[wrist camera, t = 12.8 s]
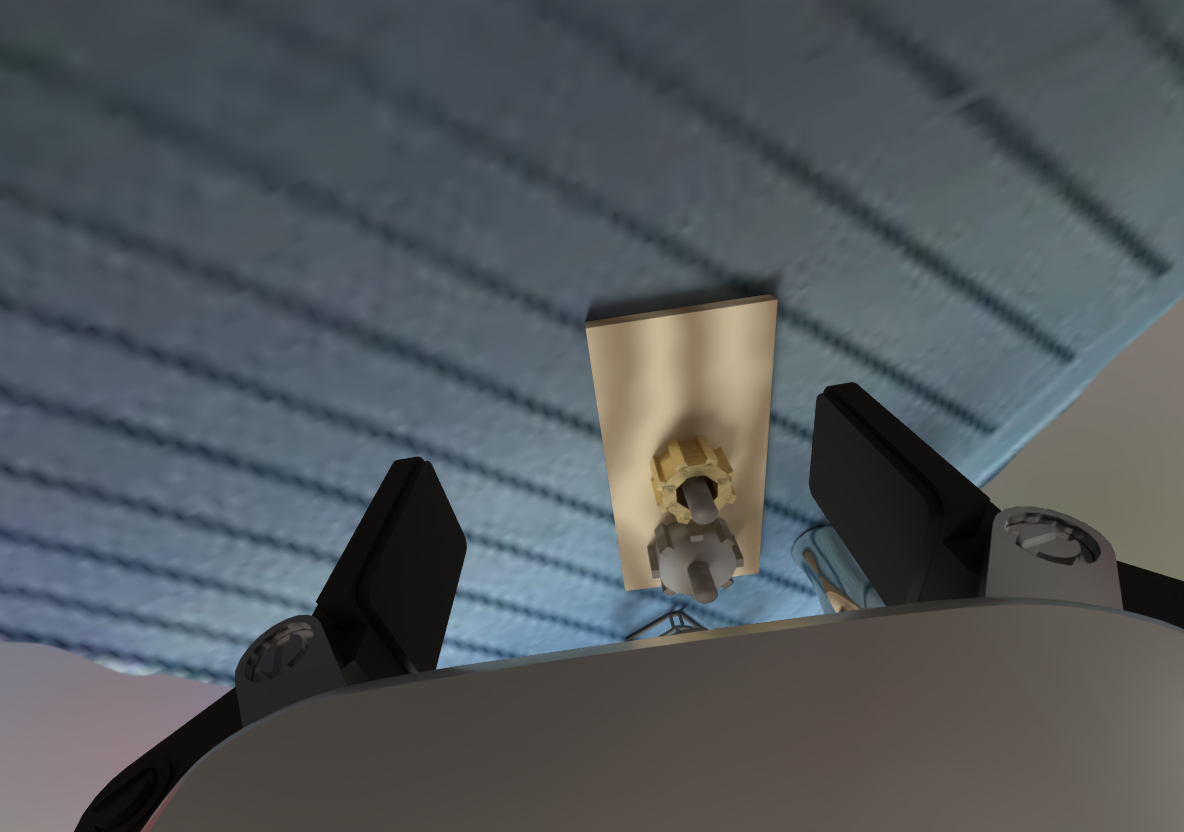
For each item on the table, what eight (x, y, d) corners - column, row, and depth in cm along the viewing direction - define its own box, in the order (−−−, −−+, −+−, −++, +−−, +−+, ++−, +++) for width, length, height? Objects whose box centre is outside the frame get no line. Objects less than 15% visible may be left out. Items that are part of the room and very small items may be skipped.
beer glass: (774, 560, 49) (849, 708, 36) (812, 514, 46) (910, 657, 33) (826, 575, 50) (917, 721, 37) (867, 531, 47) (981, 674, 34)
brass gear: (724, 430, 38) (738, 454, 35) (724, 490, 42) (736, 517, 39) (647, 441, 38) (654, 466, 35) (652, 500, 42) (659, 527, 39)
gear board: (769, 294, 34) (817, 327, 28) (753, 562, 49) (782, 624, 42) (585, 321, 35) (589, 360, 28) (623, 579, 49) (632, 644, 43)
